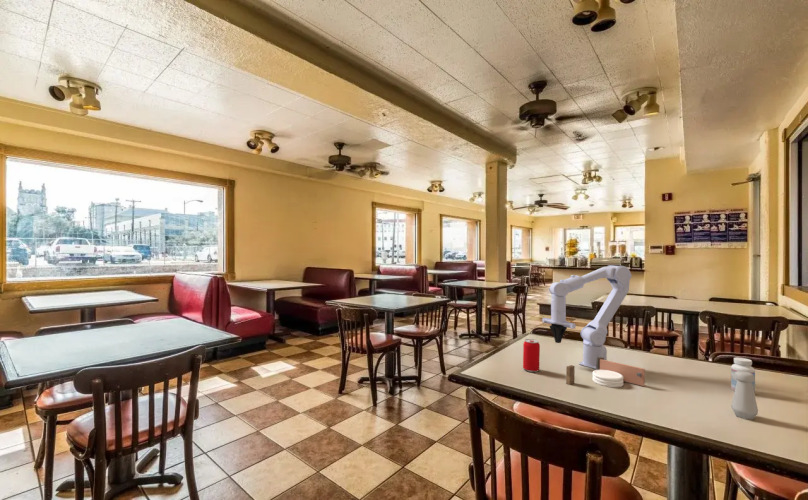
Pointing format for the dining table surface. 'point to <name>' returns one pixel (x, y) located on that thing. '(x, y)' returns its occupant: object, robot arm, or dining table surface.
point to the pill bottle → (741, 365)
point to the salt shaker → (744, 396)
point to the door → (625, 371)
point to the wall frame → (571, 371)
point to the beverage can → (531, 355)
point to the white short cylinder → (608, 378)
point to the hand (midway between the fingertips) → (558, 342)
